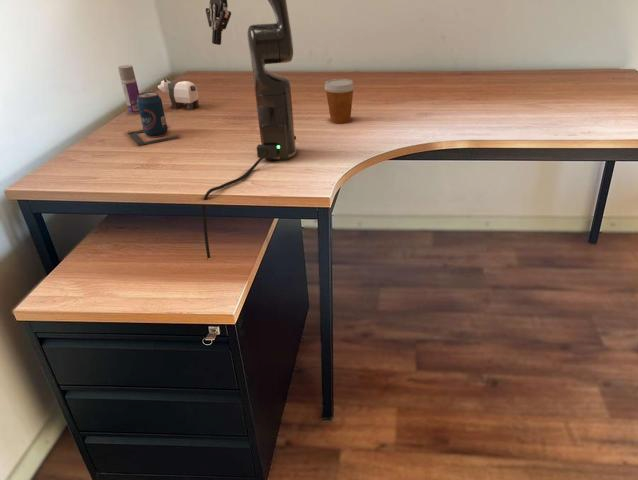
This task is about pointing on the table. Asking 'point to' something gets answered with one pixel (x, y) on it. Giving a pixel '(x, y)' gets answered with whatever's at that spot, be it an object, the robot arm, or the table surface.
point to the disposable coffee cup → (339, 99)
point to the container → (129, 87)
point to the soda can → (152, 114)
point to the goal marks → (140, 141)
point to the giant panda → (180, 93)
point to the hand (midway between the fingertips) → (216, 44)
